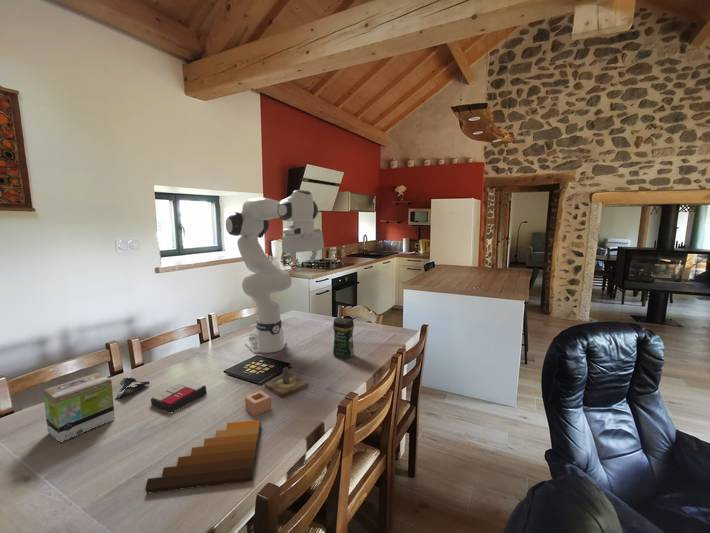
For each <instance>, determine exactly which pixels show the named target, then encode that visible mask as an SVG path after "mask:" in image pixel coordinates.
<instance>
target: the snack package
mask: <svg viewBox="0 0 710 533" xmlns="http://www.w3.org/2000/svg"><path fill="white" fill-rule="evenodd" d="M132 382H138V381H137V379H135V378H134V377H123V379H121V380H120V382H119V384H120V386H122V387H121V388H120V389H119V391H118V393H119V392H122V391H123V390H124V389H125V390H124V392H123V393H122V394H120V395H119V396H118V397H117V396H115V397H116V398H115V399H117V398H118V399H120V397H122V396H125V394H126V395H128V393H129V394H131V393H134V392H137V391H139V389H141V388H143V387H144V386H146V385H150V381H141V382H140V381H139V382H140V383H141V384H135V385H137V386H135V387H131V386H130V387H127V386H129V385H130V384H131V383H132ZM126 387H127V388H126Z"/></svg>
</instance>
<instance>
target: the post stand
mask: <svg viewBox="0 0 710 533" xmlns="http://www.w3.org/2000/svg"><path fill="white" fill-rule="evenodd" d="M264 387H265V388H266V389H267V390H269V391H271V393H272V392H273V393H274V394H276V395H277V396H279V397H280V398H281V399H282V398H286V397H287V396H290V395H292V394H294V393H297V392H299V391H301V390H304V389H306V388H308V387H309V383H308V382H307V381H305V380H303V379H301V378H299V377H297V376H296V375H294V374H292V373H290V369H289V367H287V366H286V367H283V369H282V376H280V377H277V378H275V379H273V380H270V381H267V382H264Z"/></svg>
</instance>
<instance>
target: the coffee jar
mask: <svg viewBox="0 0 710 533" xmlns="http://www.w3.org/2000/svg"><path fill="white" fill-rule="evenodd" d="M332 327H333V333H334V339H333V347H332V348H333V351H332V354H333V356H334V357H336V358H340V359H346V360H347V359H351V358H352V357H353V356H354V354H355V352H354V350H355V349H354V348H355V347H354V336H353V333H354V328H355V323H354V319H353V318H352V319H351V318H345V317H340V316H338V317H335V318H334V319H333V324H332Z"/></svg>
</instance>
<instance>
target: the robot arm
mask: <svg viewBox="0 0 710 533" xmlns="http://www.w3.org/2000/svg"><path fill="white" fill-rule="evenodd" d="M318 212H319V209H318V206H317V203H316V202H315V201H314V198H313V194H312V192H310V191H308V190H303V189H295V190H293V191H292V193H291V195H289V196H288V197H286V198H284V199H281V200H276V199H272V198H269V197H268V198H267V197H262V196H261V197H252V198H249V199H246V200H245V202H243V205H242V211H240V212H239V211H235V212H234V213H233V214H231V215H229V216H228V217H227V219H226V221H225V229H226V231H227V233H228V234H229V235H231V236H234V237H239V236H240V237H239V238H238V239H237V243H236V244H237V248H238V251H239V254H240V256H241V258H242V260H243V262H244V264H245V266H246V268H247V269H248V271H250V273H251V272H252V274H250V275H248V276H245V277H244V278H243V279H242V284H241V287H242V291H243V292H244V294H245V295H246V296H247V297H249V298H251V299H252V301H253V302H254V304H255V307H256V311H257V312H256V313H257V320H256V321H255V324H256V326H255V328H254V329H253V330H252V331H251V332H250V333H249V336H248V340H247V341H245V342H244V345H245V346H246V347H247V348H248V349H249V350H250V351H251V352H252V353H254V354H256V353H257V354H259V353H263V354H265V353H267V354H269V353H275V352H280V351H282V350H283V349H285V347H286V344H287V341H286V340H285V334H284V333H285V332H284V329H283V328H282V325H283V324H282V319H281V306H280V304H279V303H278V302H277V301H275V300H273V299H272V298H271V294H276V293H282V292H284V291H286V290H288V289H290V288H291V285H292V281H293V280H292V277H291V274H290V273H289V272H288V271H286V270H284V269H282V268H279V267H278V266H277V265H275V264H274V263H273V262H272V261H271V260H270V259H269V258H268V256H267V254H266V252H265V251H264V249H263V247H262V245H261V244H260V242H259V239H261V238H263V237H264V235H265V234H266V233H267V231H268V229H269V227H270V222H269V221H270V220H274V219H279V218H280V219H281V220H282V221H285V222H292V225H289V226H287V227H285V228H283V229H282V234H283V236H282V239H281V250H282V251H283V253H285V254H289V255H290V257H291V259H292V263H293V264H298V263H299V259H298V258H297V253H302V252H305V253H306V252H311V253H312V254H311V256H310V257H309V259H310V262H315V261H316V257H317V255H318V251H321V250H323V249H324V248H325V241H324V236H323V231H322V230H321V229H320V228H315V218H316V217H317V216H318Z"/></svg>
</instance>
